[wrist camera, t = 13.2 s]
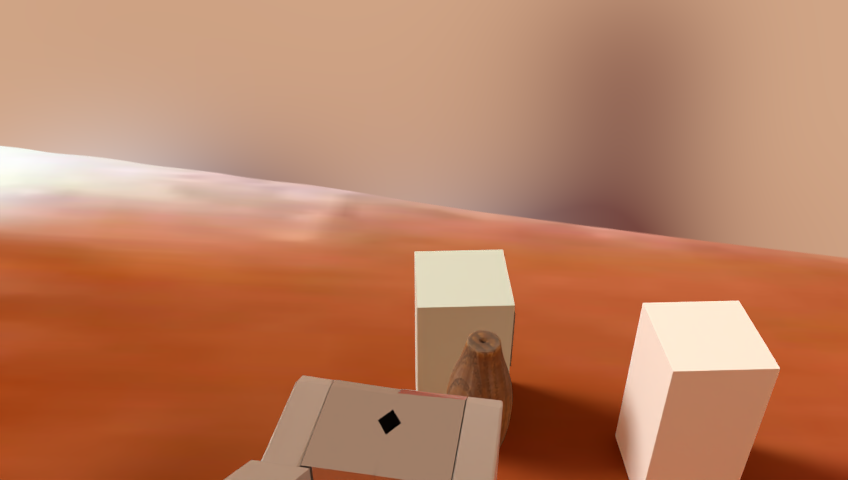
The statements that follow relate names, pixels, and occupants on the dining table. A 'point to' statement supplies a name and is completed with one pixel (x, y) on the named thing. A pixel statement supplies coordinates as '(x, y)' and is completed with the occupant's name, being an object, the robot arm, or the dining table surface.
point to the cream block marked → (694, 392)
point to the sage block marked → (458, 309)
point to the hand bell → (483, 373)
